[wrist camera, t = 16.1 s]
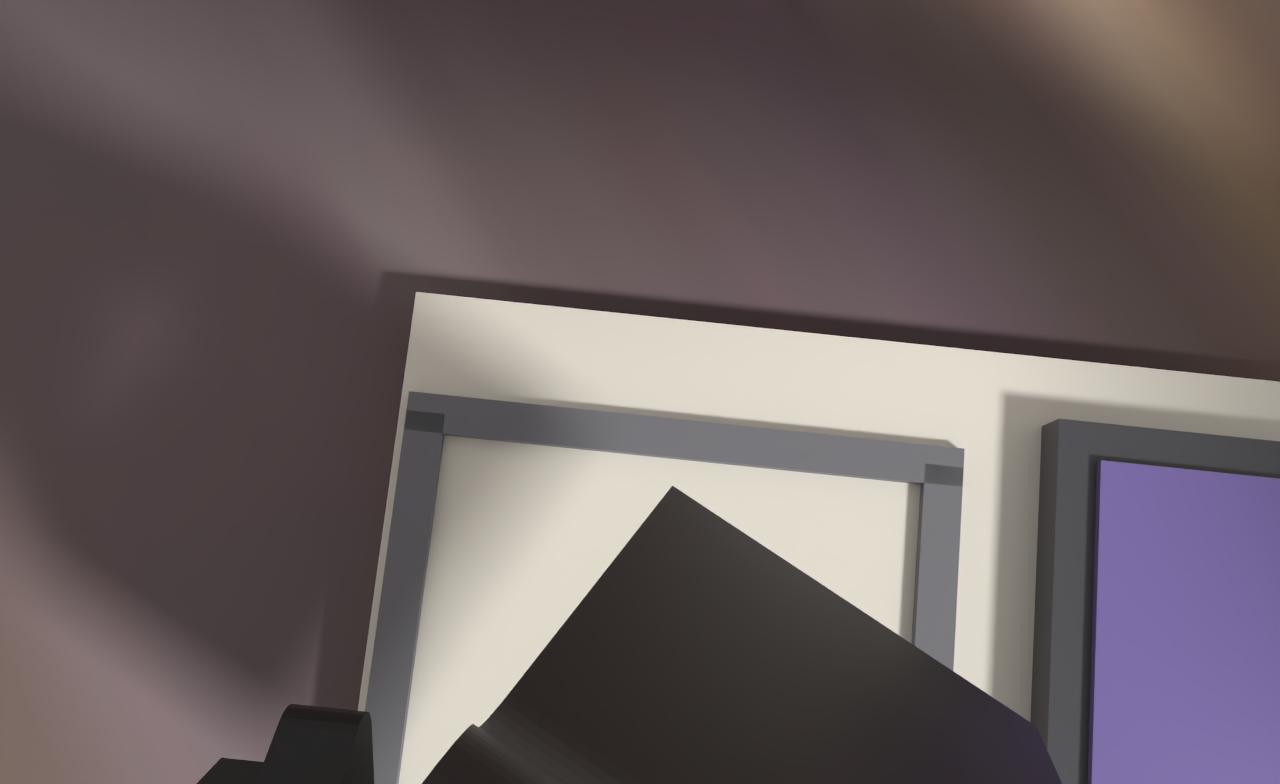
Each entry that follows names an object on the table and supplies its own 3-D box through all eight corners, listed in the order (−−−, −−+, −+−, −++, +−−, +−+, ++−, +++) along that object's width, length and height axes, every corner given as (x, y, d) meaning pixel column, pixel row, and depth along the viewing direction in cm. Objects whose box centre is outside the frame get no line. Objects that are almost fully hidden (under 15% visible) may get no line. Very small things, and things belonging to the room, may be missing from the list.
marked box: (960, 450, 25) (964, 448, 25) (921, 1216, 23) (925, 1225, 22) (411, 393, 25) (408, 391, 25) (306, 1156, 22) (302, 1164, 22)
